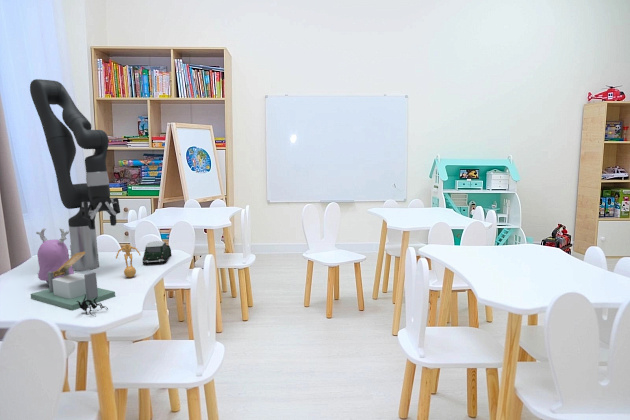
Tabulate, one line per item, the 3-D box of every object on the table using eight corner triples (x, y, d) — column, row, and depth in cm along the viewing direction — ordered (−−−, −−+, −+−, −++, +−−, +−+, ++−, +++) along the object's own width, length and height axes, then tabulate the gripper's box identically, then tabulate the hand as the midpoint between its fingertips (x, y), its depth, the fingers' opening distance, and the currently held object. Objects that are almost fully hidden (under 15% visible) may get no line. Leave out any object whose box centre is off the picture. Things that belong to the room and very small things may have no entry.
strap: (53, 277, 150) (51, 272, 150) (62, 275, 152) (60, 270, 153) (77, 257, 141) (74, 251, 141) (86, 255, 144) (84, 249, 144)
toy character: (83, 281, 166) (77, 225, 163) (59, 290, 156) (52, 231, 154) (57, 279, 170) (51, 224, 167) (32, 287, 160) (25, 230, 158)
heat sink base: (31, 298, 148) (27, 270, 147) (73, 286, 160) (70, 260, 159) (72, 310, 136) (69, 280, 135) (115, 296, 148) (112, 268, 147)
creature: (111, 310, 138) (84, 306, 137) (114, 293, 138) (86, 289, 137) (102, 320, 131) (72, 316, 130) (104, 302, 130) (75, 297, 129)
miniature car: (172, 254, 204) (170, 236, 203) (165, 265, 186) (163, 245, 185) (150, 256, 203) (149, 238, 201) (141, 266, 185) (140, 246, 184)
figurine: (118, 280, 166) (115, 247, 164) (117, 276, 171) (114, 244, 170) (143, 276, 170) (140, 244, 168) (141, 272, 175) (138, 241, 173)
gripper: (109, 182, 181) (113, 224, 183) (73, 186, 169) (79, 230, 171) (121, 182, 177) (125, 224, 179) (85, 185, 165) (91, 231, 167)
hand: (103, 227), depth 175 cm, fingers open, 8 cm apart
